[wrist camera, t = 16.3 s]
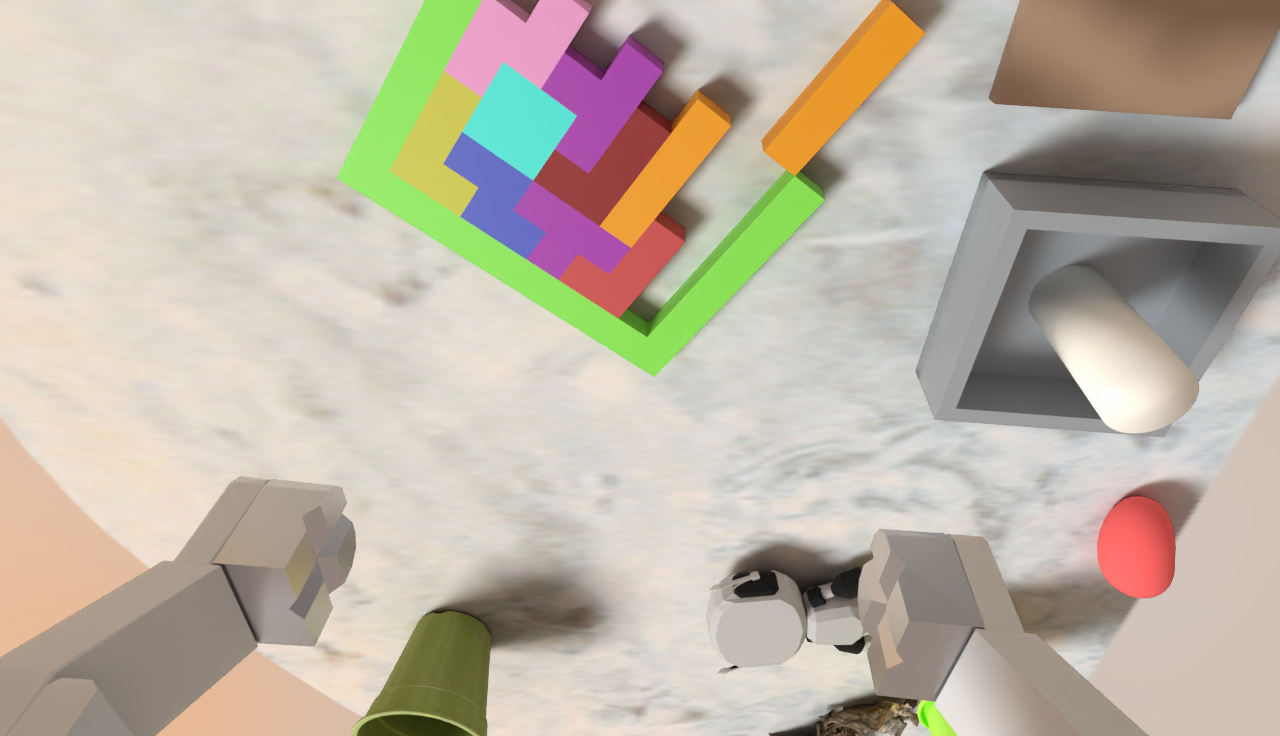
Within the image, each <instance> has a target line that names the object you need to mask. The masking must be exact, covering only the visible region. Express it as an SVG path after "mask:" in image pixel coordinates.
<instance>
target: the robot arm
mask: <svg viewBox="0 0 1280 736" xmlns="http://www.w3.org/2000/svg"><path fill="white" fill-rule="evenodd" d="M346 504H347V501H346V498H345V495H344V492H343V489H342V488H341V487H338V486H332V485H322V484H313V483H304V482H294V481H285V480H276V479H262V478H252V477H242V476H240V477H239V478H237V479H236V480H234V481H232V482H231V483H230V484H229V485H228V486H227V488H226V489H225V491H224V492H223V493H222V495H221V496H220V498H219V499H218V500H217V502H216V503H215V505H214V506H213V507H212V509H211V510H210V511H209V513H208V514H207V516H206V517H205V518H204V520H203V521H202V523H201V524H200V525H199V527H198V528H197V530H196V531H195V532H194V534H193V535H192V536H191V538H190V539H189V541H188V542H187V543H186V545H185V546H184V548H183V549H182V550H181V552H180V553H179V555H178V556H177V557H176V559H175V560H174V561H162V562H161V563H159V564H157V565H155V566H154V567H152V568H150V569H149V570H147V571H146V572H144V573H142V574H140V575H139V576H137V577H135V578H134V579H132V580H130V581H129V582H127V583H125V584H123V585H122V586H120V587H118V588H117V589H115V590H113V591H112V592H110V593H108V594H107V595H105V596H103V597H102V598H100V599H98V600H96V601H95V602H93V603H91V604H90V605H88V606H86V607H85V608H83V609H81V610H79V611H78V612H76V613H74V614H73V615H71V616H69V617H68V618H66V619H65V620H63V621H61V622H59V623H57V624H56V625H54V626H52V627H51V628H49V629H47V630H46V631H44V632H42V633H41V634H39V635H37V636H35V637H34V638H32V639H30V640H29V641H27V642H25V643H24V644H22V645H20V646H19V647H17V648H15V649H14V650H12V651H10V652H9V653H7V654H5V655H3V656H2V657H0V736H155V735H157V734H158V733H159V732H160V731H161V730H162V729H164V728H165V727H166V726H167V725H168V724H169V723H170V722H172V721H173V720H174V719H175V718H176V717H177V716H178V715H180V714H181V713H182V712H183V711H184V710H185V709H187V708H188V707H189V706H190V705H191V704H192V703H193V702H195V700H197V699H198V698H199V697H200V696H201V695H203V694H204V693H205V692H206V691H207V690H208V689H210V688H211V687H212V686H213V685H214V684H215V683H216V682H217V681H219V680H220V679H221V678H222V677H223V676H224V675H226V674H227V673H228V672H229V671H230V670H231V669H232V668H234V667H235V666H236V665H237V664H238V663H239V662H241V661H242V660H243V659H244V658H245V657H246V656H247V655H249V654H250V653H251V652H252V651H253V650H254V649H256V648H257V647H258V645H257V643H264V644H281V645H298V646H315V644H316V642H317V640H318V638H319V636H320V634H321V632H322V630H323V627H324V625H325V623H326V621H327V619H328V617H329V615H330V613H331V611H332V609H333V607H332V603H331V600H330V597H329V594H330V593H331V592H332V591H334V590H335V589H337V588H338V587H339V586H341V585H342V584H343V583H345V581H346V578H347V576H348V574H349V572H350V569H351V567H352V563H353V558H354V554H355V549H356V535H355V530H354V526H353V523H352V522H351V521H350V520H349V519H348V518H347V517H346V516H344V515H343V514H342V512H343V510H344V508H345V506H346ZM871 549H872V553H873V559H872V560H870V561H869V562H867V563H865V564H864V565H863V569H862V572H861V575H860V578H859V587H858V607H859V615H860V620H861V625H862V627H863V628H864V629H865V630H866V631H867V632H868V634H869V635H870V636H871V637H872V638H873V640H872V642H871V645H870V647H869V650H868V652H867V655H868V660H869V664H870V669H871V674H872V678H873V683H874V688H875V693H876V695H880V696H889V697H898V698H906V699H915V700H924V701H933V702H935V703H934V705H935V707H936V708H937V709H938V711H939V712H940V713H941V714H942V716H943V717H944V718H945V720H946V721H947V722H948V724H949V725H950V726H951V727H952V729H953V730H954V731H955V733H956V734H957V735H958V736H1149V735H1147V734H1146V733H1145V732H1144V731H1143V730H1142V729H1141V728H1139V726H1137V725H1136V724H1135V723H1134V722H1133V721H1132V720H1131V719H1130V718H1129V717H1127V716H1126V715H1125V714H1124V713H1123V712H1122V711H1121V710H1120V709H1118V708H1117V707H1116V706H1115V705H1114V704H1113V703H1112V702H1111V701H1109V699H1107V698H1106V697H1105V696H1104V695H1103V694H1102V693H1101V692H1099V690H1097V689H1096V688H1095V687H1094V686H1093V685H1092V684H1091V683H1090V682H1089V681H1087V680H1086V679H1085V678H1084V677H1083V676H1082V675H1081V674H1080V673H1079V672H1077V671H1076V670H1075V669H1074V668H1073V667H1072V666H1071V665H1070V664H1069V663H1067V662H1066V661H1065V660H1064V659H1063V658H1062V657H1061V656H1060V655H1059V654H1057V653H1056V652H1055V651H1054V650H1053V649H1052V648H1051V647H1050V646H1049V645H1047V644H1046V643H1045V642H1044V641H1043V640H1042V639H1041V638H1040V637H1039V636H1037V635H1036V634H1032V633H1025V631H1024V629H1023V626H1022V624H1021V622H1020V619H1019V617H1018V614H1017V612H1016V609H1015V607H1014V605H1013V602H1012V600H1011V597H1010V595H1009V592H1008V590H1007V588H1006V585H1005V583H1004V580H1003V578H1002V576H1001V573H1000V571H999V568H998V566H997V563H996V561H995V559H994V556H993V554H992V551H991V549H990V547H989V544H988V542H987V541H986V540H985V539H984V538H983V537H978V536H965V535H952V534H947V535H945V534H944V533H929V532H915V531H900V530H886V529H879V530H878V532H877V533H876V534H875V535H874V538H873V541H872V543H871Z"/></svg>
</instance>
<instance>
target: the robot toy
mask: <svg viewBox="0 0 1280 736" xmlns="http://www.w3.org/2000/svg"><path fill="white" fill-rule="evenodd" d="M861 572H862V569H861V568H860V567H857V568H854V569H851V570H849V571H846V572H843V573H840V574H839V575H838V577H837V578H836V579H835V580H834V582H828V584H824V585H819V586H814V587H810V588H808V589H807V590H806V591H805V593H804V594H803V600H802V596H801V592H800V590H799V588H798V586H797V584H796V583H795V581H793V580H792V579H791V578H790V577H788V576H787V575H784V574H782V573H780V572H777V571H775V570H765V571H753V572H752V571H750V572H741V573H735V574H731V575H729V576H728V577H726V578H725V579H723V580H722V581H721V582H720V583H719V584H718V585H714V586H713V587H712V588H711V589H710V591H712V593H711V596H710V599H709V603H708V610H707V622H708V632H709V636H710V639H711V641H712V644H713V647H714V648H715V650H716V652H717V653H718V655H719V656H720V657H721V658H723V659H724V660H726V661H727V662H729V663H731V664H733V665H735V666H732V667H729V668H723V669H721V670H720V671H719V672H718V674H721V675H724V674H727V673H728V672H730V671H733V670H736V669H739V668H743V667H756V666H769V665H781V664H782V663H784V662H785V661H787V660H788V659H790V658H791V657H793V656H794V655H795V654H796V653H797V651H798V650H799V649H800V647H801V645H802V643H803V641H804V639H805V636H806V639H807V641H808V642H813V643H815V644H823V645H834V646H835V647H836V648H837V649H838V650H839V651H843V652H848V653H853V654H859V653H860V652H861V651H864V652H868V650H869V647H870V645H871V642H872V640H873V638H872V637H871V636H870V635H869V634H868V632H867V631H866V630H865V629H864V628H863V627H862V625H861V620H860V615H859V607H858V587H859V578H860V575H861Z"/></svg>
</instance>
